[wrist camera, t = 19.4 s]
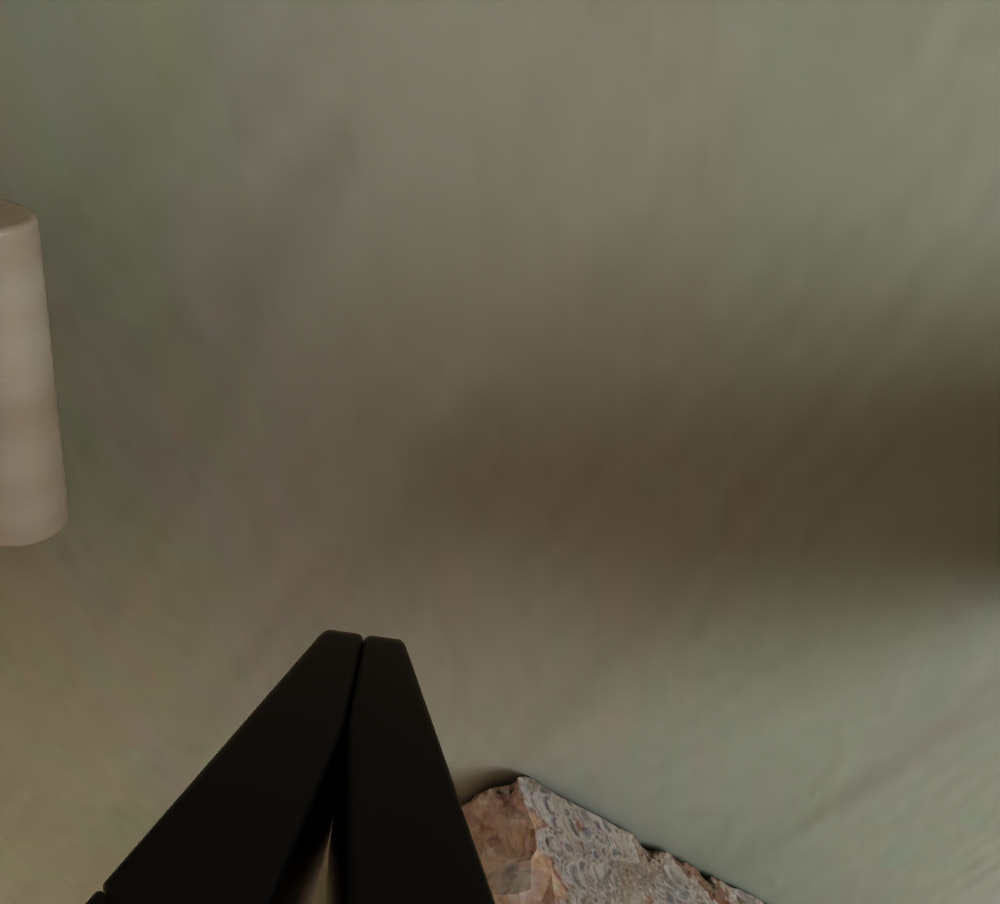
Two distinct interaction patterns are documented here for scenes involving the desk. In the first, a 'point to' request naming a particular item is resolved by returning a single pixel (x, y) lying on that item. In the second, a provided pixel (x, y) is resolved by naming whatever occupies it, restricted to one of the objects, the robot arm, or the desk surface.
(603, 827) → the geological specimen
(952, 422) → the desk surface
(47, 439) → the drawer
